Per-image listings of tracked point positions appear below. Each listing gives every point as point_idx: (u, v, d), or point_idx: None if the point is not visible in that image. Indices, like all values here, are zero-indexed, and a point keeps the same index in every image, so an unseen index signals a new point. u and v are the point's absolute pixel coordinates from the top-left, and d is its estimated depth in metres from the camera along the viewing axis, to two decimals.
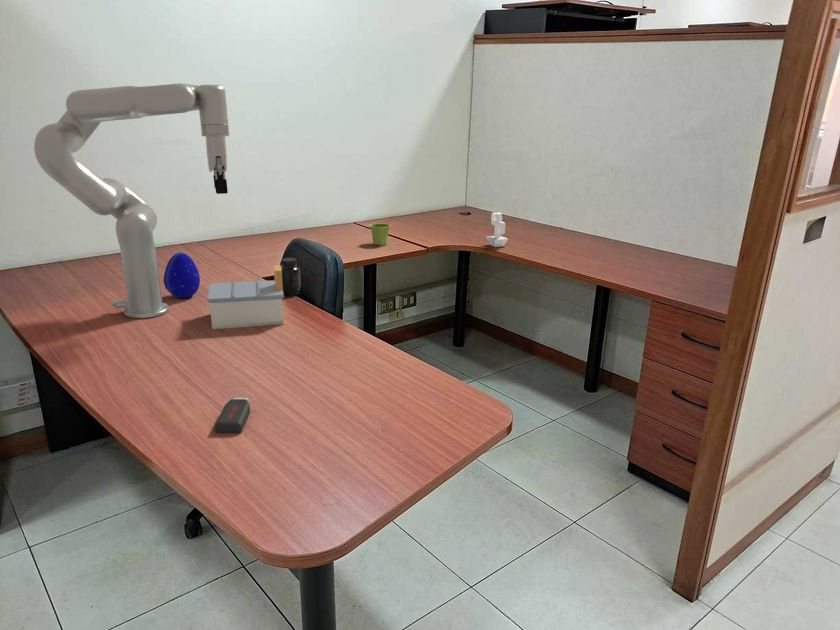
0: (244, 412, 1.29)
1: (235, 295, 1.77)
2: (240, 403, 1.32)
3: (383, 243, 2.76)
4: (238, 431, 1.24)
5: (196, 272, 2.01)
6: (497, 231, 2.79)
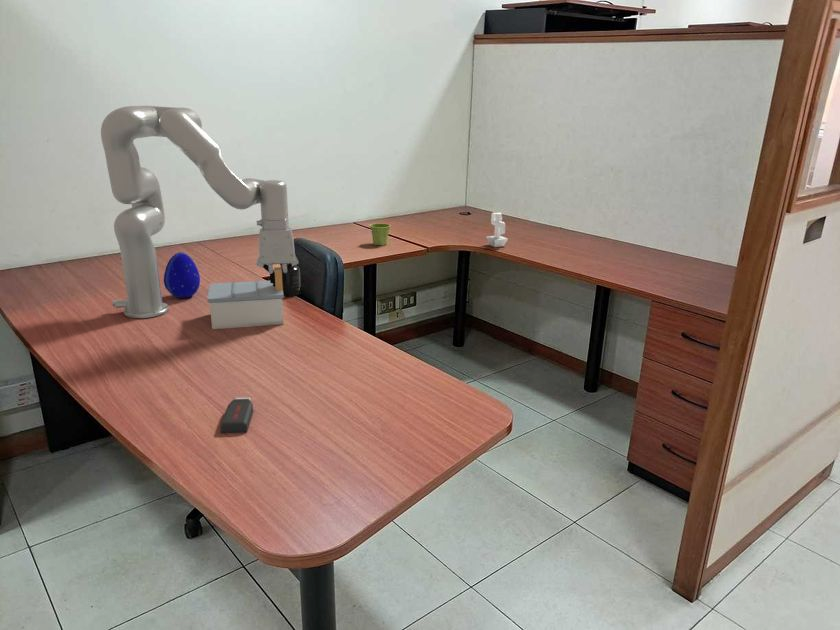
0: (248, 411, 1.29)
1: (235, 295, 1.77)
2: (243, 403, 1.32)
3: (383, 243, 2.76)
4: (244, 430, 1.25)
5: (196, 272, 2.01)
6: (497, 231, 2.79)
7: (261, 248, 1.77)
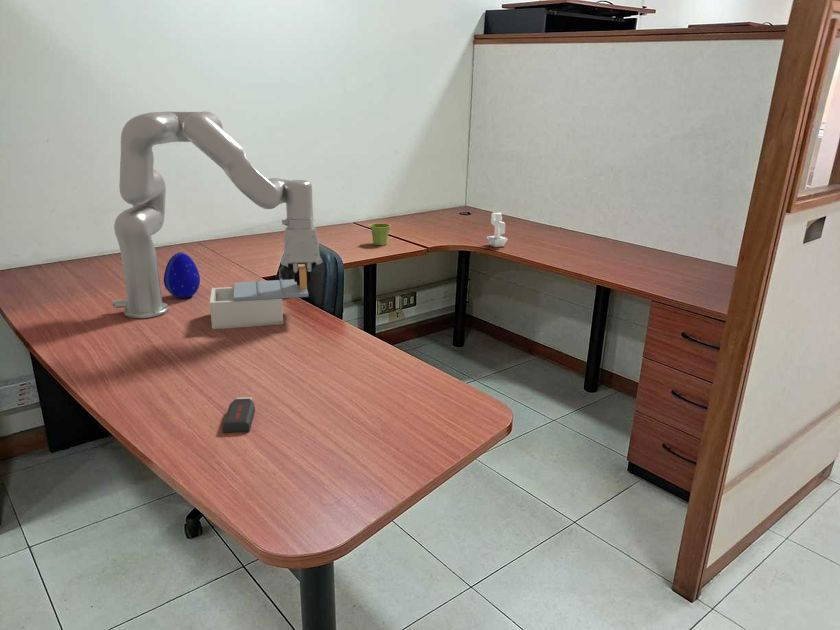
0: (250, 411, 1.29)
1: (261, 294, 1.79)
2: (244, 402, 1.32)
3: (383, 243, 2.76)
4: (246, 430, 1.25)
5: (196, 272, 2.01)
6: (497, 231, 2.79)
7: (286, 247, 1.79)
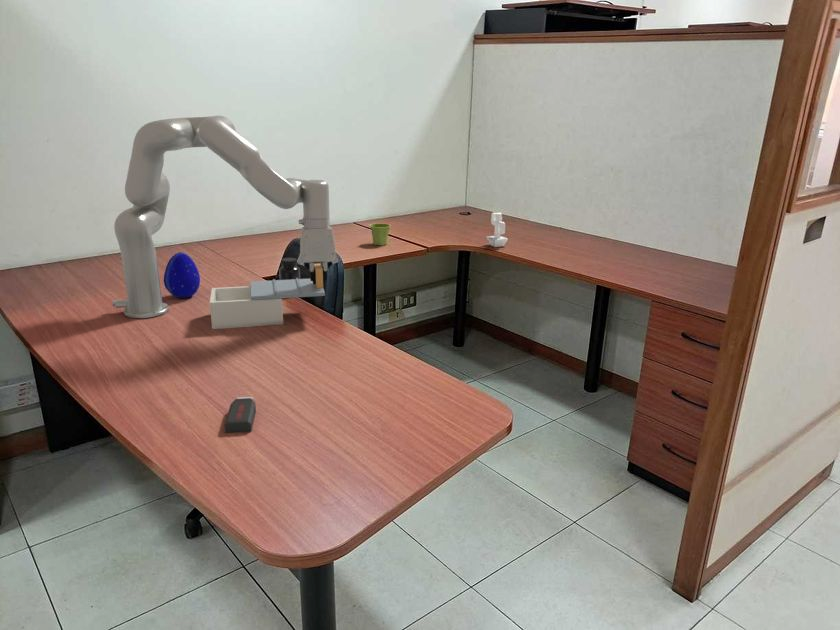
0: (252, 411, 1.29)
1: (277, 293, 1.80)
2: (245, 402, 1.32)
3: (383, 243, 2.76)
4: (248, 429, 1.25)
5: (196, 272, 2.01)
6: (497, 231, 2.79)
7: (303, 246, 1.80)
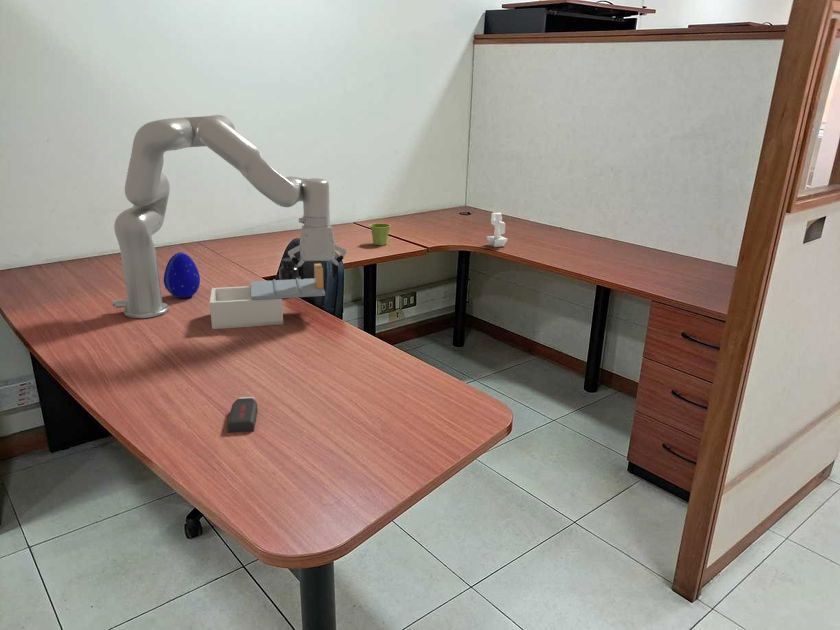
0: (254, 410, 1.29)
1: (278, 293, 1.80)
2: (247, 402, 1.32)
3: (383, 243, 2.76)
4: (251, 429, 1.25)
5: (196, 272, 2.01)
6: (497, 231, 2.79)
7: (303, 245, 1.80)
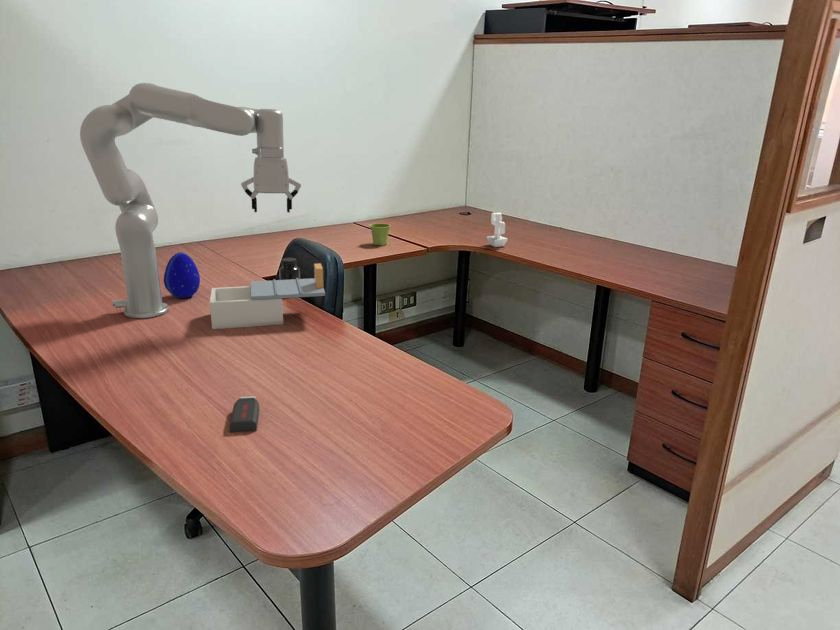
0: (256, 410, 1.30)
1: (278, 293, 1.80)
2: (249, 401, 1.32)
3: (383, 243, 2.76)
4: (253, 429, 1.25)
5: (196, 272, 2.01)
6: (497, 231, 2.79)
7: (256, 176, 1.80)
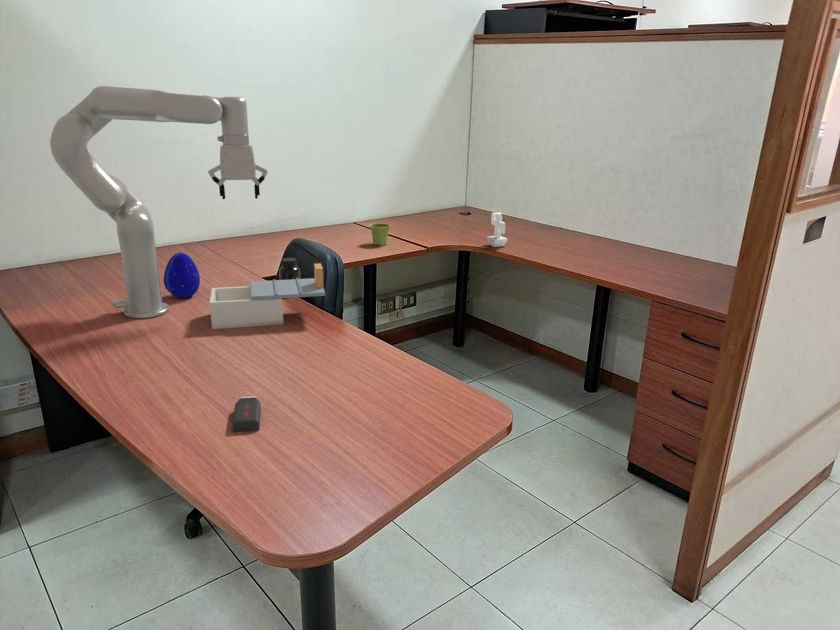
0: (258, 409, 1.30)
1: (278, 293, 1.80)
2: (250, 401, 1.33)
3: (383, 243, 2.76)
4: (256, 428, 1.26)
5: (196, 272, 2.01)
6: (497, 231, 2.79)
7: (222, 163, 1.83)
